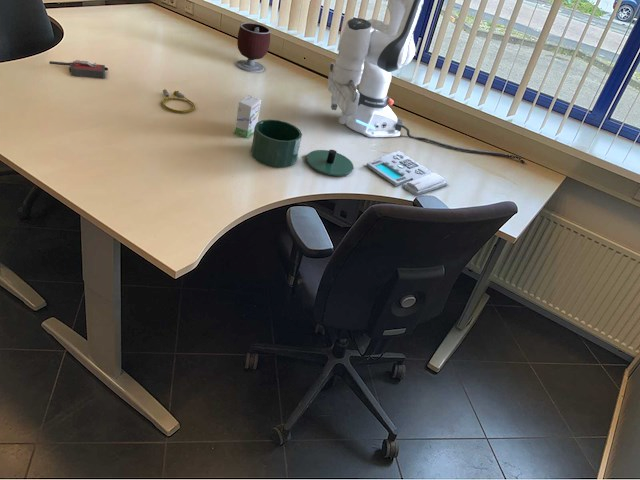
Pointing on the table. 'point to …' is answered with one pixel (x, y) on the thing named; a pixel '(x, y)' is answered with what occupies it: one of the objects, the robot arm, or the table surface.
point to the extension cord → (176, 99)
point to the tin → (276, 143)
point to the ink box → (247, 116)
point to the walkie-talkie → (84, 69)
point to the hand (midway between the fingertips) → (337, 115)
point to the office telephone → (406, 173)
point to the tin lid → (330, 162)
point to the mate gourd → (252, 45)
